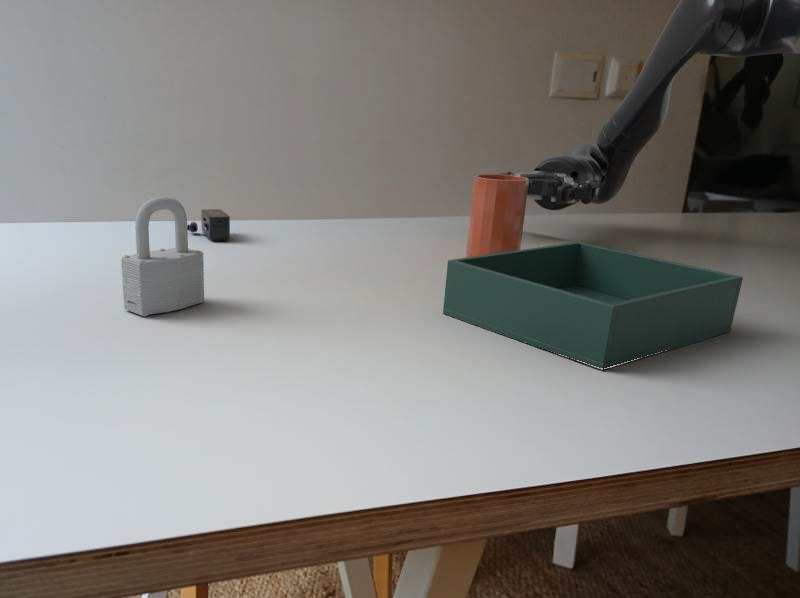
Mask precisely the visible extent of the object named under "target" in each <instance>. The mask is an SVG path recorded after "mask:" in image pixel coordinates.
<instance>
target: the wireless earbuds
mask: <svg viewBox="0 0 800 598" xmlns="http://www.w3.org/2000/svg"><path fill="white" fill-rule="evenodd" d="M200 220H201V221H200V224H201V232H202V234H203V235H205V237H207V238H208V239H209V240H210V241H211V242H227V241H229V240H230V238H231V226H230V225H231V217H230V215H229V214H228V213H226V212H225V211H224V210H222V209H219V208H214V209H213V208H212V209H211V208H208V209H207V208H206V209H205V208H204V209H201V210H200ZM198 230H199V225H198V223H197V222H195V221H191V222H190V224H187V232H190V233H197V232H198Z"/></svg>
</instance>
